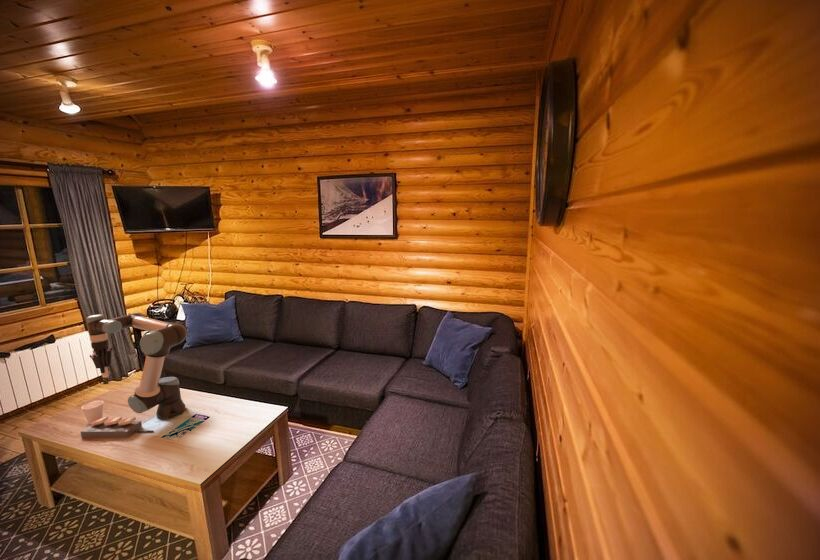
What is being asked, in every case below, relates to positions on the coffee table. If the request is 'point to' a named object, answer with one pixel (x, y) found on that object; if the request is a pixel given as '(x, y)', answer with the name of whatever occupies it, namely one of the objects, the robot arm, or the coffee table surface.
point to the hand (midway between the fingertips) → (105, 377)
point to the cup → (93, 410)
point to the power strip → (112, 430)
